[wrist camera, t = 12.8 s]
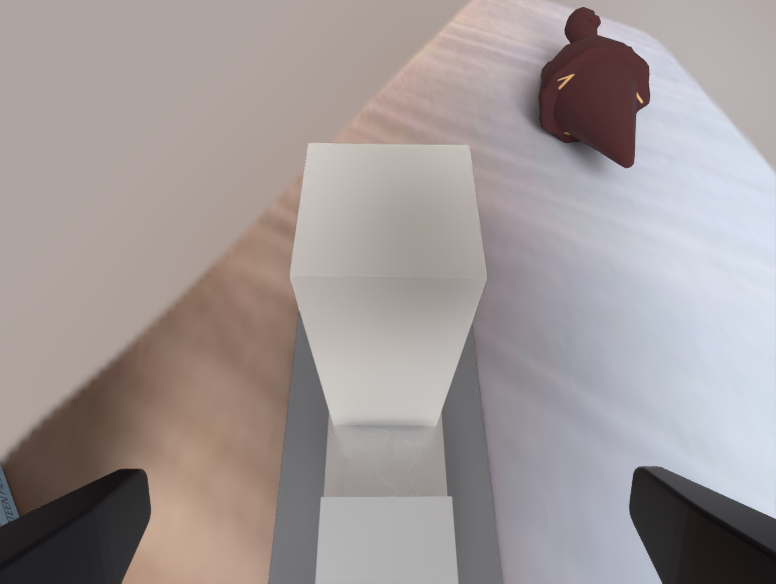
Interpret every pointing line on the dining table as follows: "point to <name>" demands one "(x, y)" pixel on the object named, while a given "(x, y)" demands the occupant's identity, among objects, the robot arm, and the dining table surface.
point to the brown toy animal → (594, 90)
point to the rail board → (384, 491)
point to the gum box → (6, 501)
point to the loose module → (387, 275)
